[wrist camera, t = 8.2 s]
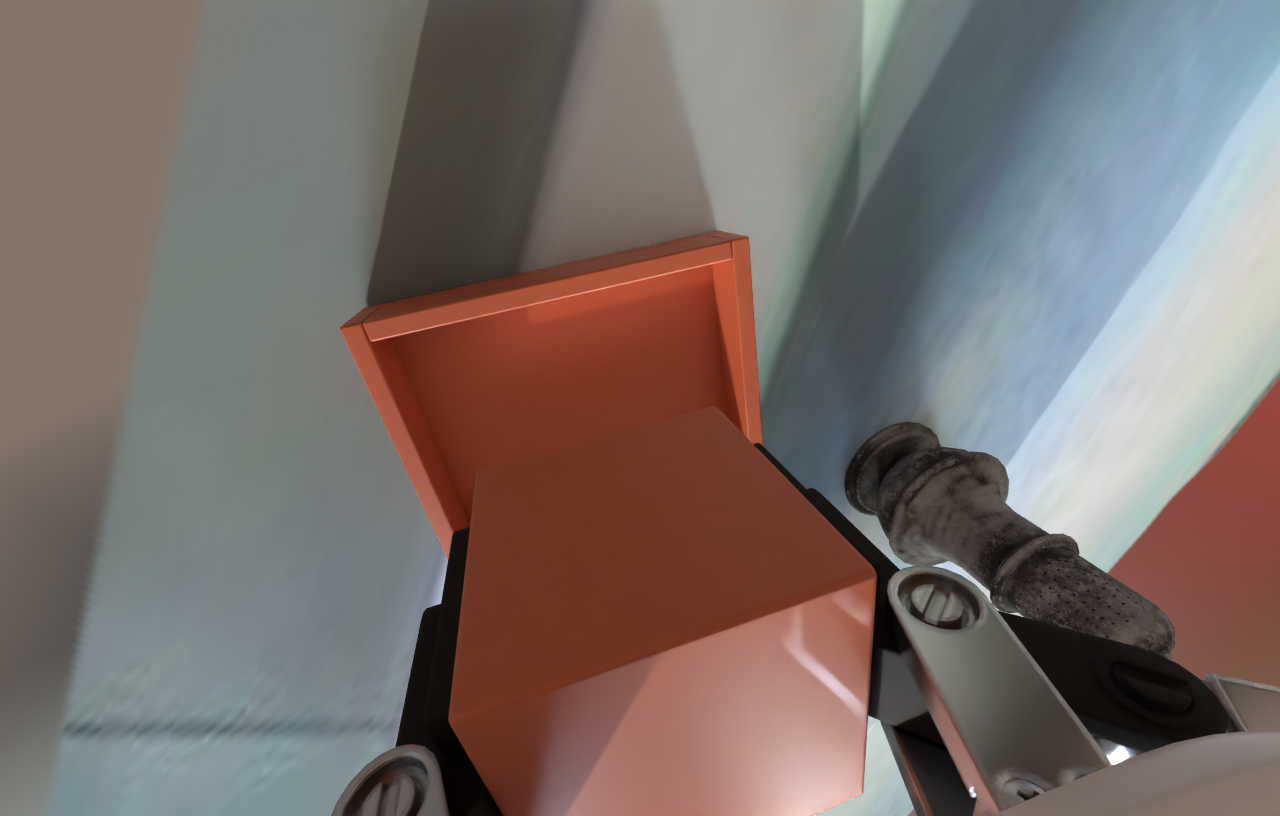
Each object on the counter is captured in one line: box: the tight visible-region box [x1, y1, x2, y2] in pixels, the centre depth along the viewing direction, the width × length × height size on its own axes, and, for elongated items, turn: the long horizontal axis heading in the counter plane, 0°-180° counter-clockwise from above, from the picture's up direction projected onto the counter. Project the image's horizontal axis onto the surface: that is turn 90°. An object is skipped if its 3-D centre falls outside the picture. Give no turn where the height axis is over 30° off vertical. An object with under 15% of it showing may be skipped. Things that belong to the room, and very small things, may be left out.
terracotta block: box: [448, 406, 877, 816], centre depth 9 cm, size 5×5×5 cm
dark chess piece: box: [845, 422, 1175, 661], centre depth 19 cm, size 6×6×12 cm
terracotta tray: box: [340, 231, 763, 559], centre depth 17 cm, size 12×9×2 cm
